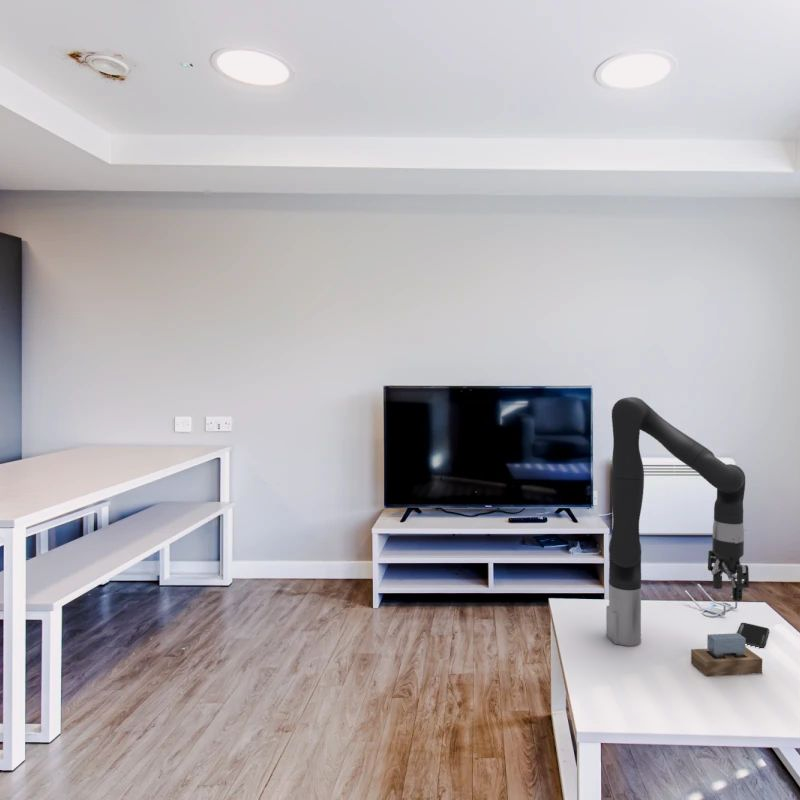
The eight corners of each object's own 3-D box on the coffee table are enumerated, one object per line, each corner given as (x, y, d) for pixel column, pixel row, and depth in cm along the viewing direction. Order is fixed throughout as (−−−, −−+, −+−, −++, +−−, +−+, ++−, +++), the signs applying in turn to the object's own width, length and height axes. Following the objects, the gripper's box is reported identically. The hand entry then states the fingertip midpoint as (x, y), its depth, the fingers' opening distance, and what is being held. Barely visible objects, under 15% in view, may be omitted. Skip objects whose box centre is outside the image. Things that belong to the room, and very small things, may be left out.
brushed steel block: (713, 667, 155) (714, 639, 155) (707, 662, 158) (707, 634, 158) (745, 666, 156) (745, 638, 155) (738, 660, 159) (738, 633, 158)
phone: (733, 639, 172) (741, 621, 183) (733, 643, 172) (741, 625, 183) (764, 647, 167) (770, 628, 178) (764, 650, 167) (770, 631, 178)
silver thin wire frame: (720, 621, 186) (720, 604, 186) (680, 608, 197) (680, 592, 197) (741, 609, 195) (741, 592, 195) (701, 597, 206) (701, 581, 206)
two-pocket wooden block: (706, 676, 153) (706, 661, 153) (691, 663, 160) (691, 649, 160) (762, 673, 154) (762, 659, 154) (744, 660, 161) (745, 646, 161)
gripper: (699, 530, 163) (698, 585, 163) (731, 545, 148) (730, 605, 149) (724, 529, 163) (723, 584, 164) (758, 544, 149) (757, 604, 150)
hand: (727, 594), depth 157 cm, fingers open, 8 cm apart
